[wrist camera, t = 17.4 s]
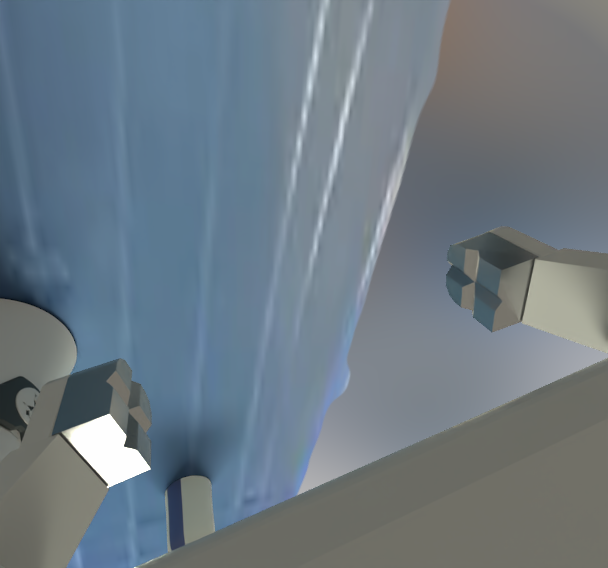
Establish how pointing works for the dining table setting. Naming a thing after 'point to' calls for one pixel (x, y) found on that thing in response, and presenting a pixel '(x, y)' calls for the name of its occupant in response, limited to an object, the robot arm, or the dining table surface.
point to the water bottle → (188, 511)
